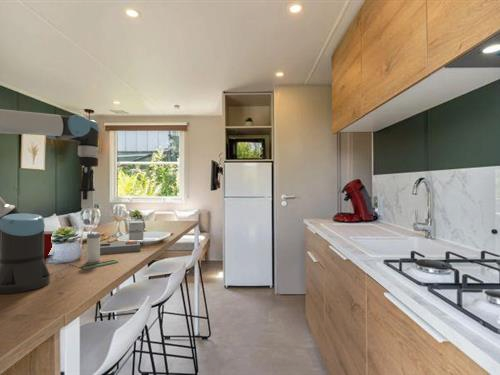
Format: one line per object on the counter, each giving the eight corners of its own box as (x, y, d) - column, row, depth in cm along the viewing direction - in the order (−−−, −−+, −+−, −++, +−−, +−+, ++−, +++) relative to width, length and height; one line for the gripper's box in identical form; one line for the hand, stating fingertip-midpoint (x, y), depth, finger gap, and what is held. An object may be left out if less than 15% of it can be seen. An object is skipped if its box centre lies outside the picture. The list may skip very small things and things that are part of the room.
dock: (90, 257, 137) (90, 248, 137) (92, 251, 148) (92, 243, 148) (140, 252, 146) (140, 244, 146) (138, 248, 157) (138, 240, 157)
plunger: (127, 249, 147) (127, 242, 147) (126, 247, 151) (126, 240, 151) (135, 248, 149) (135, 241, 149) (135, 247, 152) (135, 240, 152)
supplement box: (128, 245, 165) (128, 222, 164) (130, 242, 172) (130, 221, 172) (142, 244, 167) (142, 222, 166) (143, 242, 174) (143, 220, 174)
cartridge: (90, 264, 122) (90, 235, 122) (84, 262, 125) (84, 234, 125) (102, 261, 126) (102, 233, 126) (96, 259, 129) (96, 232, 129)
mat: (84, 269, 116) (84, 268, 116) (68, 264, 124) (68, 262, 124) (117, 262, 127) (117, 261, 127) (101, 257, 136) (101, 256, 136)
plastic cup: (65, 254, 141) (65, 229, 141) (47, 260, 130) (47, 233, 130) (44, 254, 142) (44, 229, 142) (24, 259, 131) (24, 232, 131)
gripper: (94, 154, 115) (94, 208, 115) (100, 159, 139) (99, 204, 138) (72, 153, 113) (72, 208, 113) (82, 159, 136) (81, 205, 136)
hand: (87, 206), depth 126 cm, fingers open, 13 cm apart
